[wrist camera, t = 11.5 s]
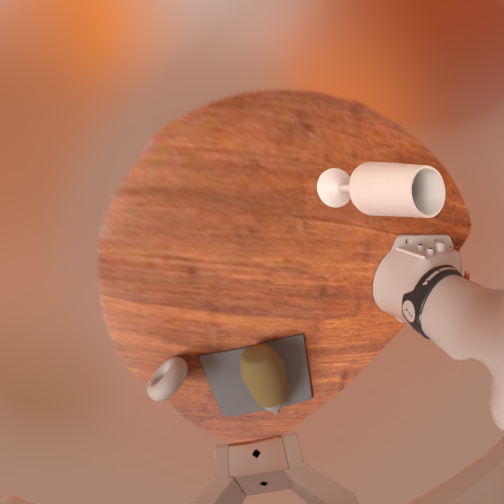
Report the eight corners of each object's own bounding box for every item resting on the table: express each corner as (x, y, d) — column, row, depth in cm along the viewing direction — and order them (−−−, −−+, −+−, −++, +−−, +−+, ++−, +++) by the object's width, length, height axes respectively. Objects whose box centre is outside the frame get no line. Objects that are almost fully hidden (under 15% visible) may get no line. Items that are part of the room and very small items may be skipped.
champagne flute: (311, 174, 42) (391, 163, 19) (346, 163, 42) (442, 148, 19) (324, 213, 44) (410, 239, 21) (358, 200, 44) (456, 215, 21)
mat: (302, 333, 49) (303, 334, 48) (311, 397, 53) (311, 399, 53) (198, 355, 48) (198, 356, 48) (223, 415, 53) (223, 417, 52)
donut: (181, 344, 48) (171, 376, 38) (194, 355, 48) (188, 389, 39) (150, 370, 49) (138, 401, 39) (163, 380, 49) (153, 412, 40)
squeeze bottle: (287, 341, 45) (301, 401, 51) (247, 336, 49) (268, 395, 55) (268, 374, 38) (287, 430, 44) (225, 365, 43) (251, 422, 48)
